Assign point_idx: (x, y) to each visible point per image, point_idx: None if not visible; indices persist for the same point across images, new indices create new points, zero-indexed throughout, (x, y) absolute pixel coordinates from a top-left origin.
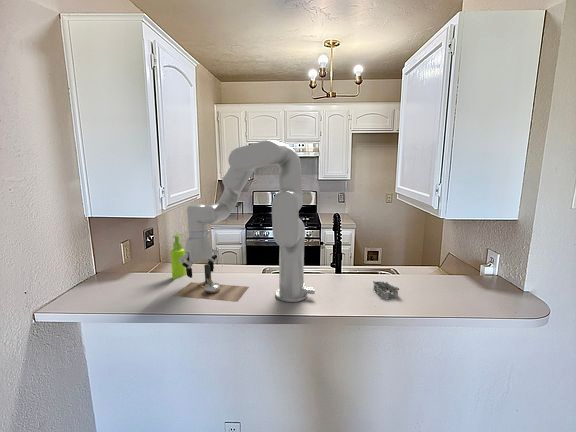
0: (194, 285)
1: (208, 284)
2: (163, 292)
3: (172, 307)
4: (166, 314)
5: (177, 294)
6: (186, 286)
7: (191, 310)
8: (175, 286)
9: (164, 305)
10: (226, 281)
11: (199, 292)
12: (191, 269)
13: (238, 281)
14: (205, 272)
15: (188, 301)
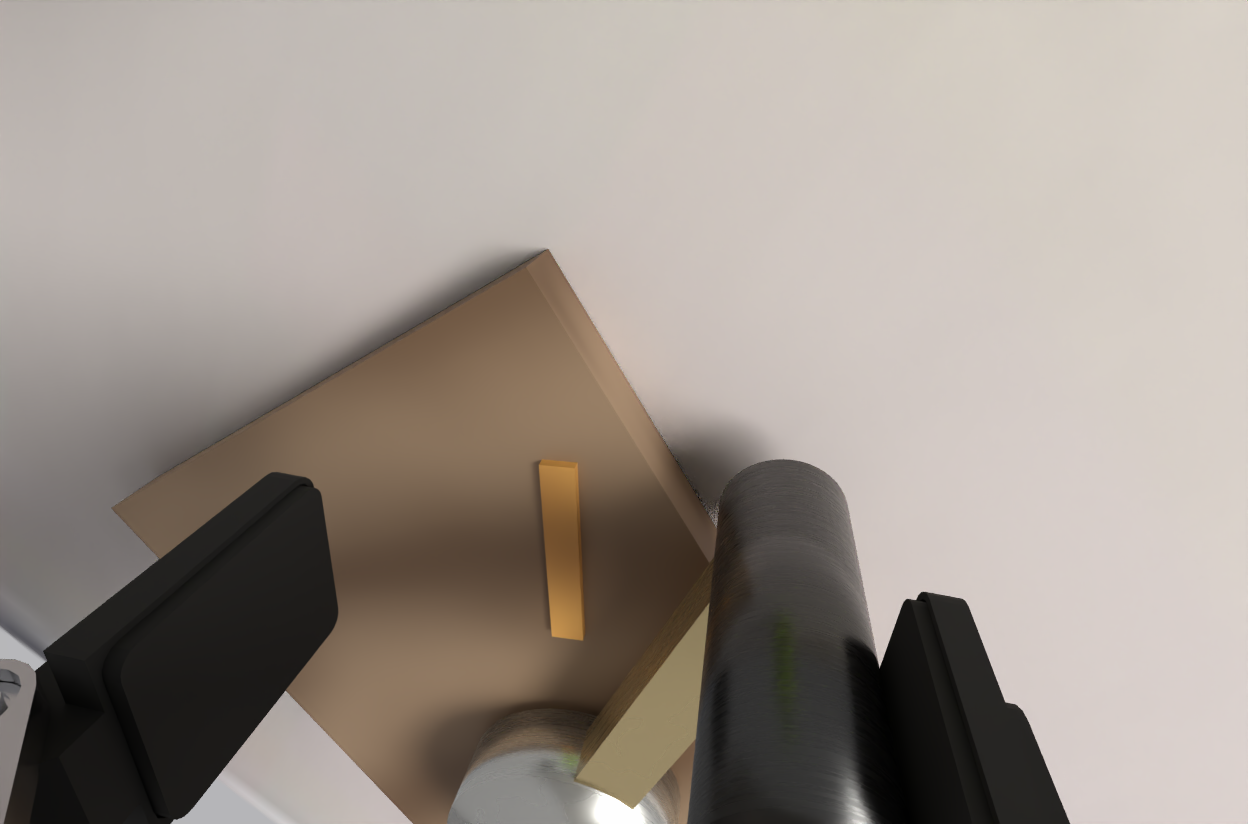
0: (493, 453)
1: (541, 798)
2: (55, 125)
3: None
4: None
5: (171, 515)
6: (368, 378)
7: (262, 771)
8: (292, 12)
9: (50, 518)
10: (1104, 597)
11: (431, 682)
12: (178, 809)
13: (1207, 739)
14: (705, 668)
15: None
